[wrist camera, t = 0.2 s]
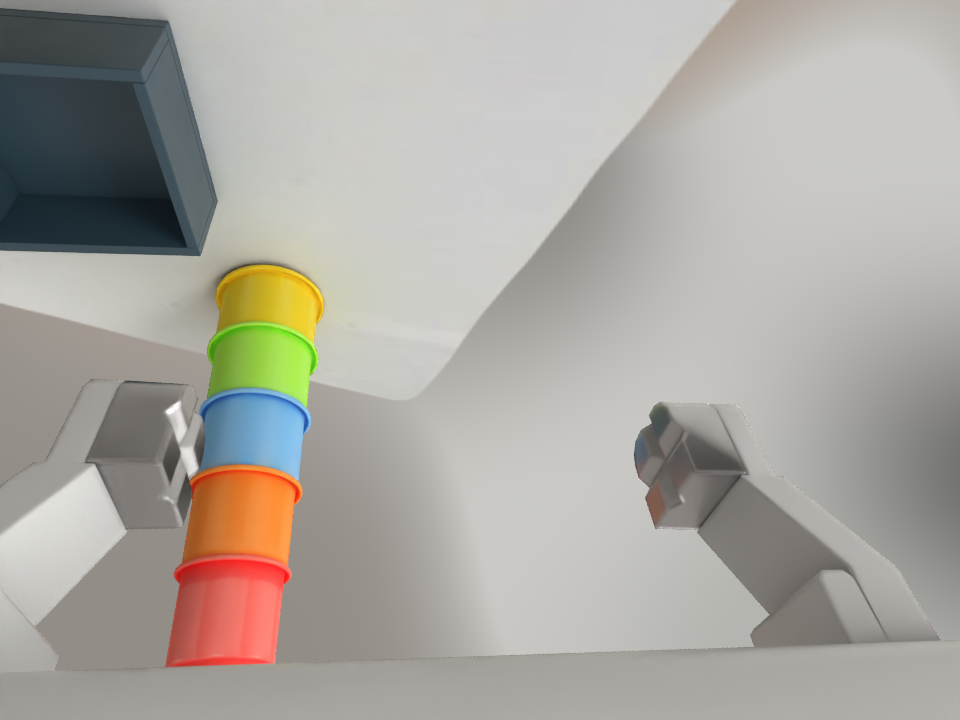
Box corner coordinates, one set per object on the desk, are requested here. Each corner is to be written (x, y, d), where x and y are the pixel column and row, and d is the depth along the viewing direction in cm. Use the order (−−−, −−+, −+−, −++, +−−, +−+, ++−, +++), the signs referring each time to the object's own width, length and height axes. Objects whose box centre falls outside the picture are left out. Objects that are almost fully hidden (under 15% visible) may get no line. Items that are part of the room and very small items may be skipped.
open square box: (-90, 1, 39) (-153, 51, 35) (169, 20, 41) (140, 70, 37) (18, 193, 50) (-19, 250, 46) (217, 201, 52) (200, 256, 48)
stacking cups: (324, 266, 59) (277, 654, 37) (324, 336, 66) (285, 692, 45) (210, 255, 57) (89, 661, 35) (224, 329, 64) (132, 698, 43)
